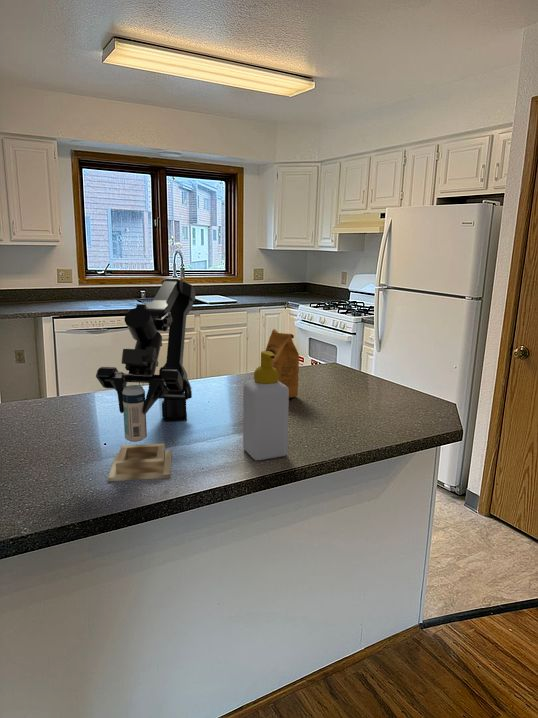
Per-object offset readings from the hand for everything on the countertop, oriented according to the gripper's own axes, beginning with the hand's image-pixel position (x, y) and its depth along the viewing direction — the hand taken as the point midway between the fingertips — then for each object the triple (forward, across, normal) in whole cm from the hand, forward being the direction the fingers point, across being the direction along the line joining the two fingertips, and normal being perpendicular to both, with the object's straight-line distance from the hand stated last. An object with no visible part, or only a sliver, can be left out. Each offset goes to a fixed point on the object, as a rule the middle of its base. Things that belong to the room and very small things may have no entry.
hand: (132, 412), depth 110 cm
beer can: (+4, 0, +6) cm, 7 cm away
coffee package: (-32, +29, +52) cm, 68 cm away
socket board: (+8, +1, +10) cm, 13 cm away
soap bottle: (+1, +28, +18) cm, 34 cm away
